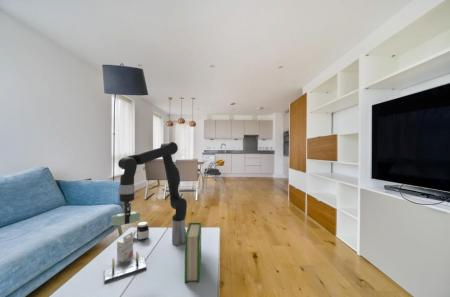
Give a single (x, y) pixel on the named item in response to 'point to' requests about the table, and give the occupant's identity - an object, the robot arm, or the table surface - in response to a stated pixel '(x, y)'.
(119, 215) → the green tabbed block
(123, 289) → the table surface
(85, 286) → the table surface
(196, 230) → the hardback book
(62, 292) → the table surface
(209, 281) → the table surface
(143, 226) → the spread jar
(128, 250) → the ink cartridge box
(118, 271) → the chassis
